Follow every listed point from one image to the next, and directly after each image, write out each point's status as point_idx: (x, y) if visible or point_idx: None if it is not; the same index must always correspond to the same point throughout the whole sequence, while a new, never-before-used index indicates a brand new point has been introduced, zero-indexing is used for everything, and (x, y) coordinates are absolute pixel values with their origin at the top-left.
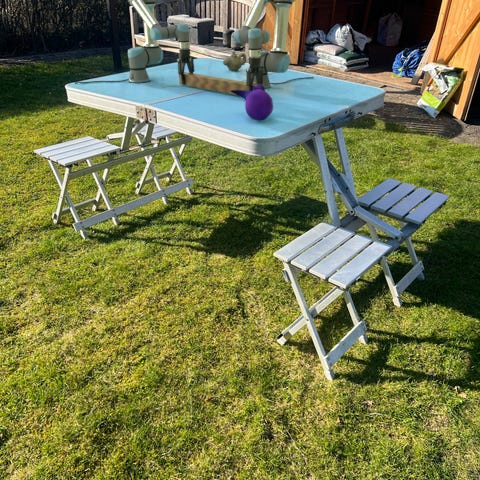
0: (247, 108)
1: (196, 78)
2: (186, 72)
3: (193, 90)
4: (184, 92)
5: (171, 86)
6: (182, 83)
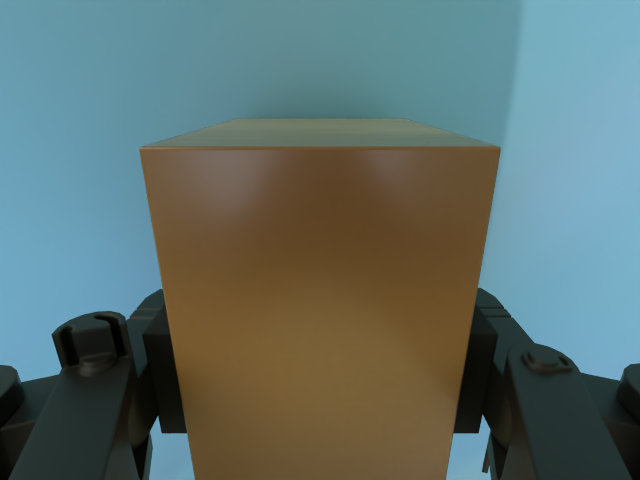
0: None
1: None
2: (456, 277)
3: None
4: None
5: (96, 5)
6: None
